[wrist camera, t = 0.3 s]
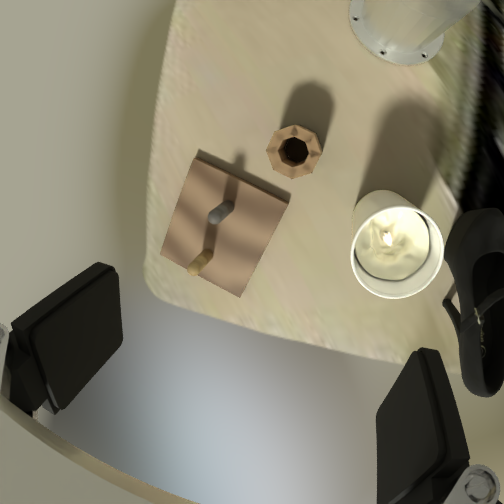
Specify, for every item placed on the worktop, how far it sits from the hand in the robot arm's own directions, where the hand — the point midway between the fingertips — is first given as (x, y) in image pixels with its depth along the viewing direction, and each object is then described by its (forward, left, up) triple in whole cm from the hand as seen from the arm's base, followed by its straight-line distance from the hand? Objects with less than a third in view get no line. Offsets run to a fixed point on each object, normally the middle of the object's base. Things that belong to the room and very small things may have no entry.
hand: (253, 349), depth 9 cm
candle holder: (+1, +11, -34) cm, 36 cm away
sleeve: (-2, -3, -34) cm, 34 cm away
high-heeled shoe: (0, +24, -34) cm, 41 cm away
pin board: (+13, -8, -34) cm, 37 cm away
